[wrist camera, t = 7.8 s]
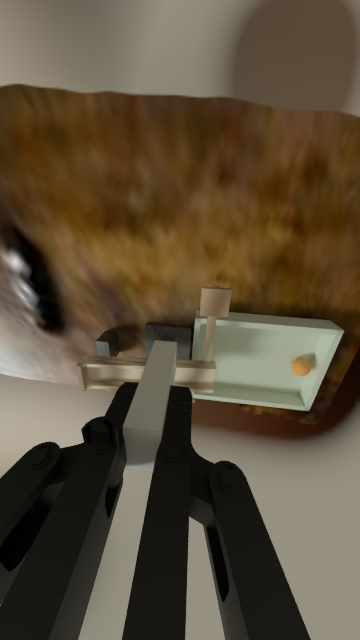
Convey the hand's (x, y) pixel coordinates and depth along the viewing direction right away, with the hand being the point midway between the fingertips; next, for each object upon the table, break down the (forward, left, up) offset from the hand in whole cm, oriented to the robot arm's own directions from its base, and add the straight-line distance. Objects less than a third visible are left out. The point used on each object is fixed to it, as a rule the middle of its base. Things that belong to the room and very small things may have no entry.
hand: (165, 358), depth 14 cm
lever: (-5, -8, -17) cm, 19 cm away
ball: (+22, -15, -21) cm, 34 cm away
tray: (+14, -15, -24) cm, 31 cm away
